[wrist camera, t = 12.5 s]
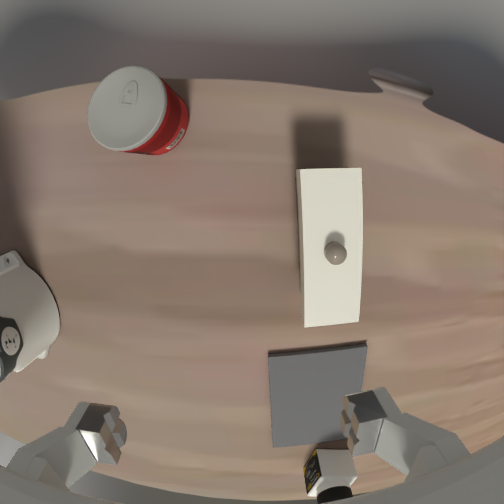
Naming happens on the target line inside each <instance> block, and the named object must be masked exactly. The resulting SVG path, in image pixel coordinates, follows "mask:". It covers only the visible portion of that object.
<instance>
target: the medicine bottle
mask: <svg viewBox="0 0 504 504" xmlns="http://www.w3.org/2000/svg"><path fill="white" fill-rule="evenodd" d="M303 470H304V477H305V483H306V490H307V495H308V496H317V501H318V504H321V503H327V502H332V501H337V500H342V499H346V498H351V497H353V495H352V492H351V488H350V485H351V484H352V483H353V482H354V480H355V479H356V478H357V477H358V475H357V472H356V468H355V465H354V462H353V459H352V456H351V453H350V451H349V450H336V449H316V450H315V451H314V453H313V454H312V456H311V458H310V459H309V461H308V462H307V464H306V466H305V467H304V469H303Z"/></svg>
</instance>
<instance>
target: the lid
mask: <svg viewBox="0 0 504 504" xmlns="http://www.w3.org/2000/svg"><path fill="white" fill-rule="evenodd" d="M296 175H297V193H298V213H299V239H300V273H301V318H302V321H303V324H304V327H314V326H324V325H334V324H343V323H351V322H359V311H360V296H361V276H362V242H363V205H362V172H361V168H323V169H296Z"/></svg>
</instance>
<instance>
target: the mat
mask: <svg viewBox="0 0 504 504" xmlns="http://www.w3.org/2000/svg"><path fill="white" fill-rule="evenodd" d="M366 354H367V345H366V344H359V345H352V346H344V347H336V348H328V349H319V350H310V351H299V352H288V353H276V354H268V364H269V382H270V400H271V419H272V439H273V448H274V447H287V446H297V445H306V444H314V443H322V442H329V441H335V440H341V439H347V437H345V436H344V435H343V432H342V429H341V421H340V417H341V412H342V411H343V409H344V407H343V404H342V401H343V397H344V395H348V394H353V393H358V392H361V389H362V383H363V376H364V369H365V362H366Z"/></svg>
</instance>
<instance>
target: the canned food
mask: <svg viewBox="0 0 504 504" xmlns="http://www.w3.org/2000/svg"><path fill="white" fill-rule="evenodd" d="M188 122H189V115H188V110H187V107H186V105H185V103H184V102H183V100H182V99H181V98H180V97H179V96H178V95H177V94H176V93H175V92H174V91H173V90H172V89H171V88H170V87H169V86H168V85H167V84H166V83H165V82H164V81H163V80H162V79H161V78H160V77H159V76H158V75H157V74H155V73H154V72H153V71H151V70H149V69H147V68H144V67H141V66H126V67H122V68H120V69H118V70H115V71H113V72H112V73H110V74H109V75H108V76H107V77H105V78H104V79H103V80H102V81H101V82H100V84H99V85H98V86H97V87H96V89H95V91H94V93H93V94H92V97H91V100H90V102H89V107H88V125H89V129H90V131H91V134H92V135H93V137H94V139H95V140H96V141H97V142H98V143H99V144H100V145H102V146H104V147H105V148H108V149H111V150H114V151H119V152H128V153H138V154H146V155H161V154H164V153H166V152H168V151H170V150H172V149H173V148H174V147H176V146H177V145H178V144H179V142H180V141H181V140H182V138H183V137H184V135H185V133H186V130H187V127H188Z"/></svg>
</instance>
